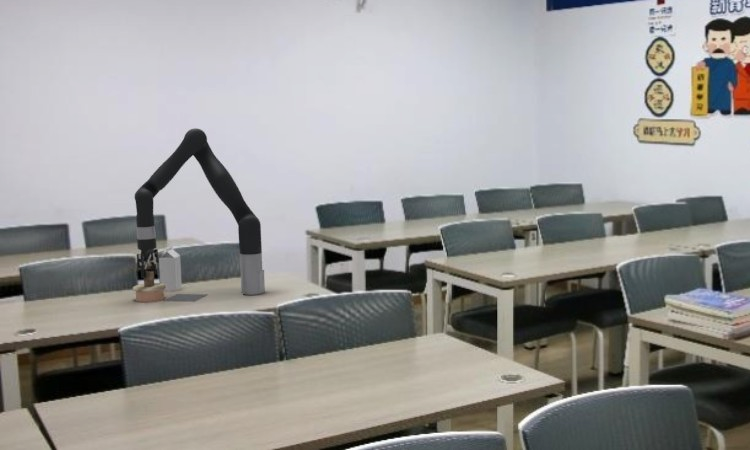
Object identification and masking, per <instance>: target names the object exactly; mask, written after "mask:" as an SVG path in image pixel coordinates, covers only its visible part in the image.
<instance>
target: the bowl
mask: <svg viewBox="0 0 750 450" xmlns="http://www.w3.org/2000/svg"><path fill="white" fill-rule="evenodd" d="M164 295H165V291H164V289H162V290H158V291H151V292H137V291H135V300H136V302H139V303H152V302H159V301H163V300H165V296H164Z"/></svg>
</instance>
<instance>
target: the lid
mask: <svg viewBox="0 0 750 450" xmlns="http://www.w3.org/2000/svg"><path fill="white" fill-rule="evenodd" d="M146 271H147V278H143V283H142V284H137V285H134V286H133V287H132V290H133V292H136V291H137V292H151V291H158V290H162V289H165V288H166V285H165V284H161V283H160V282H155V275H154V271H151V270H149V271H148V270H146Z"/></svg>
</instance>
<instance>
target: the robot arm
mask: <svg viewBox="0 0 750 450" xmlns="http://www.w3.org/2000/svg"><path fill="white" fill-rule="evenodd" d="M214 153H215V152H213V150H212V148H211V146H210V144H209V142H208V137H207V134H206V133H205V131H204V130H202V129H201V128H196V127H195V128H191V129H189V130H188V131H186V133H185V134H184V137H183V139H182V141H181V143H179V145H178V146H177V148H176V149H175V150H174V151H173V153H172V154H170V156H168V157H167V159H166V160H164V162H162V164H160V166H158V168H157V169H156V170H155V171H154V172H153V174H151V175H150V177H149V178H148V180H147V181H145V182H144V183H143V184H142V185H141V186H140V187H139V188H138V189H137V190H136V191H135V193H134V201H135V208H136V214H135V215H136V217H135V218H136V246H137V249H138V250H140V253H137V254H136V265H137V266H136V267H137V269H139V270H140V278H141V279H144V278H147V271H148V270H147V266H148V265H149V267H150V271H154V276H155V275H157V265H158V264H159V258H160V257H159V251H158V248H157V236H156V235H157V234H156V227H155V215H154V199H155V197H156V196H157V195H158V194H159V192H160V191H162V190H163V189H165V188H166V186H167V185H168V184H169V183H170V182H171V181H172V180H173V179H174V178H175V176H176V175H177V174H178V173H179V171H180V170H181V168H182V167H183V166H184V165H185V164H186V162H187V161H189V160H190V159H191V158H192V157H194V158H195V160H196V161H197V162H198V164H199V165H200V168H201V170H202V171H203V173H204V176H205V177H206V180H207V181H208V183H209V185H210V186H211V188H212V190H213V191H214V193H215V194H216V196H217V197H218V198H219V200H220V201H221V202H222V203H223V204H224V206H226V207H227V209H228V210H229V211H230V212H231V215H232V216H233V218H234V220H235V221H236V223H237V225H238V227H237V228H238V229H237V233H238V248H239V265H240V266H239V267H240V289H241V291H240V292H241V294H243V295H246V296H251V295H252V296H253V295H262V294H263V293H265V292H266V288H265V287H266V286H265V285H266V284H265V282H266V281H265V269H263V254H262V253H263V251H262V249H263V247H262V227H261V225H262V224H261V221H260V219H259V218H258V217H257V215H255V213H254V212H253V211H252V209H251V208H250V207H249V206H248V204H247V203H246V201H245V199H244V197H243V195H242V193H241V191H240V189H239V187H238V184H237V183H236V182H235V180H234V179H233V176H232V175H231V174H230V172H229V170H228V169H227V168H226V166H224V164H223V163H222V162H221V161H220V160H219V158H218V157H217V156H216V155H215V154H214Z"/></svg>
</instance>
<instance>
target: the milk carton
mask: <svg viewBox="0 0 750 450" xmlns="http://www.w3.org/2000/svg"><path fill="white" fill-rule="evenodd" d="M161 254H162V255H160V256H159V257H158V258H159V263H158V266H159V281H160V282H159V283H161V284H165V285H166V288H165V289H164V292H178V291H180V290H181V289H182V288H183V283H182V266H181V264H182V263H181V255H180V254H179V253H178V252H177V251H176V250H174V249H173V246H170V247H167V248H165V250H163V251H162V252H161Z"/></svg>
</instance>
